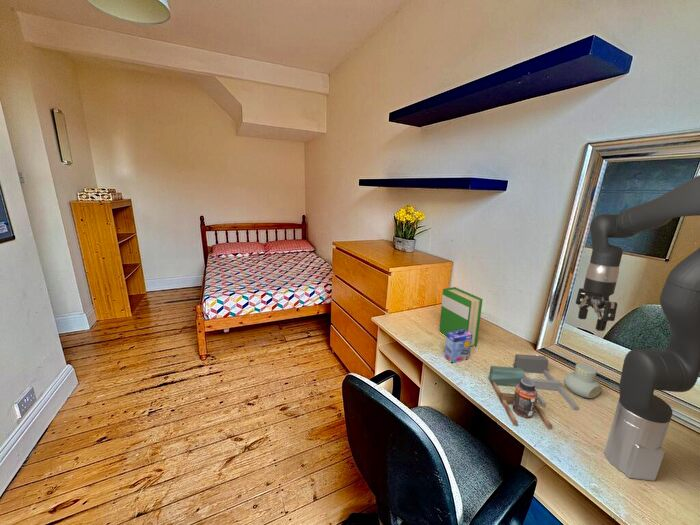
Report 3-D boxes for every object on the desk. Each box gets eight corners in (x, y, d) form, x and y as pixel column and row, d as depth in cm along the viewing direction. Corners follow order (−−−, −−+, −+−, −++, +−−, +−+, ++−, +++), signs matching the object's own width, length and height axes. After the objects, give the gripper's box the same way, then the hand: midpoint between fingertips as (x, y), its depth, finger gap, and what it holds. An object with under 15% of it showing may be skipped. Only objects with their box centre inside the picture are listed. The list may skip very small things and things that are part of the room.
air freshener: (577, 381, 108) (583, 358, 106) (602, 395, 101) (609, 371, 99) (558, 388, 105) (563, 364, 102) (583, 403, 97) (589, 378, 95)
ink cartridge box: (451, 364, 119) (455, 333, 116) (443, 357, 124) (446, 327, 121) (470, 359, 122) (473, 329, 119) (461, 352, 127) (464, 323, 124)
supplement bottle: (536, 420, 90) (542, 389, 87) (515, 417, 91) (521, 387, 88) (528, 406, 96) (534, 377, 93) (509, 403, 97) (514, 375, 94)
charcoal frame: (577, 409, 94) (580, 394, 93) (541, 406, 95) (544, 391, 94) (541, 368, 116) (543, 355, 115) (513, 366, 118) (515, 353, 116)
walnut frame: (551, 429, 86) (555, 412, 85) (513, 425, 88) (516, 409, 86) (518, 380, 108) (520, 367, 107) (488, 378, 110) (490, 364, 108)
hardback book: (476, 346, 133) (482, 299, 127) (464, 349, 130) (469, 301, 124) (450, 330, 148) (454, 287, 143) (439, 332, 146) (443, 288, 140)
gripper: (632, 285, 82) (619, 335, 86) (598, 272, 96) (588, 315, 100) (604, 284, 83) (592, 334, 87) (574, 271, 97) (565, 314, 101)
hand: (590, 324), depth 94 cm, fingers open, 8 cm apart
